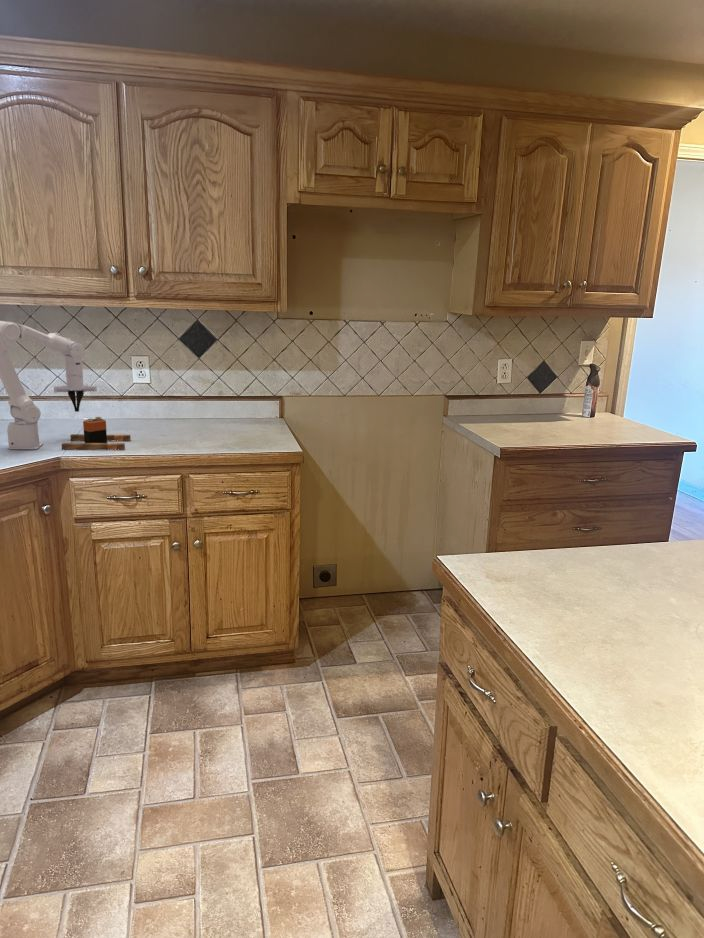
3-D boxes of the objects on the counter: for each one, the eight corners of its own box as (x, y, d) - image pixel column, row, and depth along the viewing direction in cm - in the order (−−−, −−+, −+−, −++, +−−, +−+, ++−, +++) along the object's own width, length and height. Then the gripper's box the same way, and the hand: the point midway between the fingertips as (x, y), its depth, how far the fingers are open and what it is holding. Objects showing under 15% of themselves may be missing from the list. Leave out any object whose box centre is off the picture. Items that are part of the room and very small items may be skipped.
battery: (107, 444, 248) (106, 417, 245) (90, 447, 243) (89, 420, 240) (101, 442, 251) (99, 415, 248) (84, 445, 245) (82, 418, 243)
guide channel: (61, 449, 238) (61, 444, 237) (71, 439, 252) (71, 434, 252) (123, 450, 241) (123, 444, 241) (130, 439, 255) (130, 434, 255)
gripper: (52, 376, 241) (55, 413, 245) (96, 375, 247) (98, 412, 251) (52, 373, 248) (55, 410, 251) (95, 373, 253) (97, 408, 257)
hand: (76, 411), depth 252 cm, fingers closed
